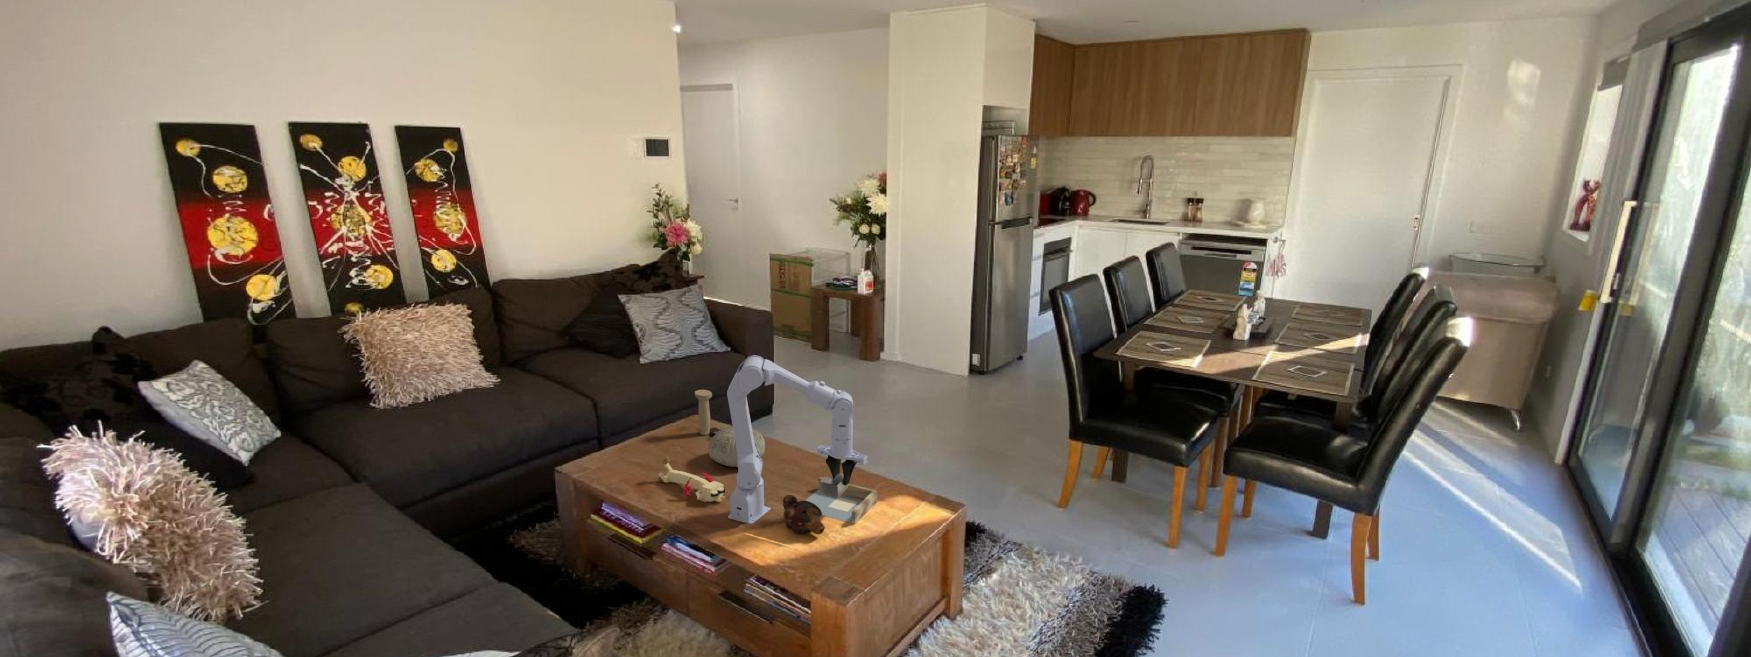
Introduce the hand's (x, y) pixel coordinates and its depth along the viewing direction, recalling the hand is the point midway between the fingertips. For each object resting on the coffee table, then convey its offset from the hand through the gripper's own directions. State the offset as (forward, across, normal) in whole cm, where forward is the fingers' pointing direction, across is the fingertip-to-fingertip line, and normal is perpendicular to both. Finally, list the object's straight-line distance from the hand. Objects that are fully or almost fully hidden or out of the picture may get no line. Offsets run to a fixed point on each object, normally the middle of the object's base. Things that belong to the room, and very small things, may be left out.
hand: (841, 482), depth 208 cm
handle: (+9, +67, -24) cm, 72 cm away
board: (+9, +3, -2) cm, 10 cm away
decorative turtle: (+9, +4, +13) cm, 16 cm away
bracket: (+2, +1, +1) cm, 3 cm away
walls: (+9, +3, -2) cm, 10 cm away
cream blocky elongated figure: (+9, +44, +10) cm, 46 cm away
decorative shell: (+9, +45, -13) cm, 48 cm away
